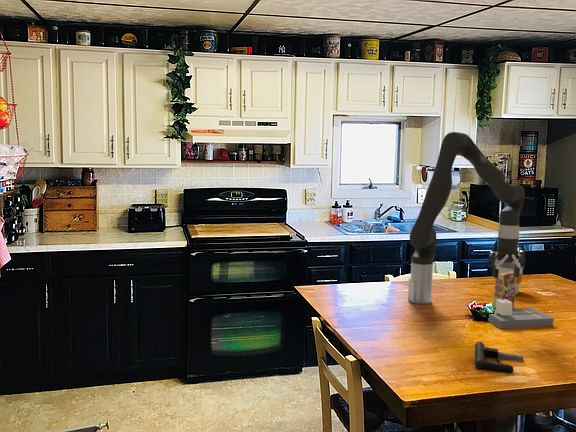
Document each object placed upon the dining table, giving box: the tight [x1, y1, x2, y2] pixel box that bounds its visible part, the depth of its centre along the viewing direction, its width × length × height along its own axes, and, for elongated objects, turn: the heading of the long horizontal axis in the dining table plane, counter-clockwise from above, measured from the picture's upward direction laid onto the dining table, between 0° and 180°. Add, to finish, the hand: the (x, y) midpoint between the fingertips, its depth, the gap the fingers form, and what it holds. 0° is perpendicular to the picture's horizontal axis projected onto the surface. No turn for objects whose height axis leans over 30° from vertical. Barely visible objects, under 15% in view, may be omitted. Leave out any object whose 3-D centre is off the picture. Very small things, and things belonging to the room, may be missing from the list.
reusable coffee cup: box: [498, 257, 525, 295], centre depth 281 cm, size 13×13×15 cm
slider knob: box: [494, 299, 513, 316], centre depth 234 cm, size 4×5×5 cm
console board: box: [487, 307, 555, 330], centre depth 236 cm, size 22×14×3 cm, turn 101°
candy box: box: [492, 271, 516, 309], centre depth 254 cm, size 9×4×15 cm, turn 123°
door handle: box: [472, 341, 524, 374], centre depth 195 cm, size 3×20×16 cm
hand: (505, 277), depth 233 cm, fingers open, 8 cm apart
